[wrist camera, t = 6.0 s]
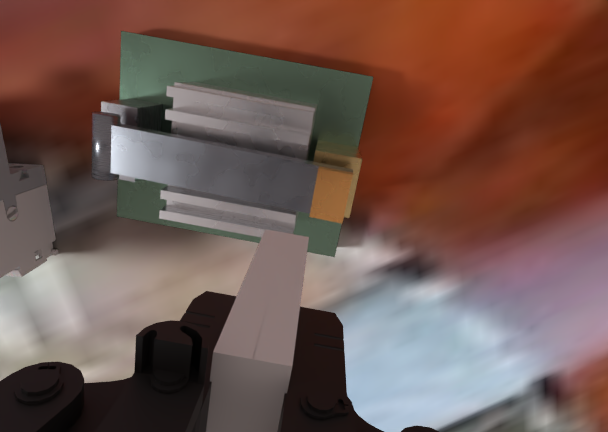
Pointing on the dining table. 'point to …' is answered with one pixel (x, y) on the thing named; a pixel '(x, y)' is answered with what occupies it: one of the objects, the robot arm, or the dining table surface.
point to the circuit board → (237, 130)
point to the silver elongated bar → (218, 168)
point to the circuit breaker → (23, 217)
